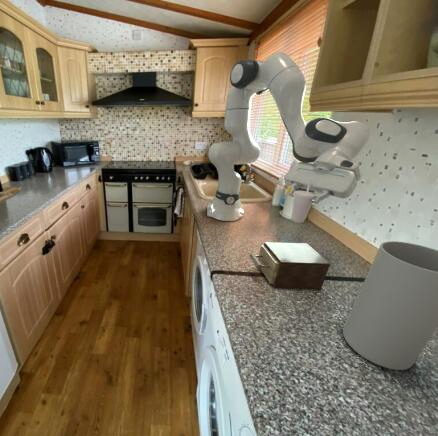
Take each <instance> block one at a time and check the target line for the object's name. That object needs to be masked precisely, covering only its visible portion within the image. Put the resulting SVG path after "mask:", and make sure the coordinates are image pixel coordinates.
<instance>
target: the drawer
mask: <svg viewBox="0 0 438 436" xmlns="http://www.w3.org/2000/svg"><path fill="white" fill-rule="evenodd" d="M248 256H249V258H250V260H251V261H252V262H253V264H254V266H255V267H256V269H258V270H260V271H261V272H262V273H263V275H264V276H265V278H266V279H267V281H268V283H269V284H270V285H272V284H274V283H275V279H276V275H277V272H278V268H279V264H280V263H279V261H278V260H277V259H276V258H275V257H274V255H273V254H272V253H271V252H270V251H269V250H268V249H267V248H266V246H265V245H264V244H261V245H260V249H259V253H258V254H254V253H250V254H249V255H248Z"/></svg>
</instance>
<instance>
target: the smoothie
mask: <svg viewBox="0 0 438 436" xmlns="http://www.w3.org/2000/svg"><path fill="white" fill-rule="evenodd" d="M311 181H312V180H309V184H308V187H307V189H306V190H295V191H294V194H293V195H294V197H293V202H292V210H291V211H292V212H291V219H290V220H291V221H292V222H293V223H300V224H302V223H305V220H306V218H307V216H308V214H309V211H310V210H311V207H312V205H313V203H312V199H313V198H314V196H317V194H316V192H315V193H314V192H313V191H310V190H309V188H310V184H311Z"/></svg>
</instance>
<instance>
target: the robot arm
mask: <svg viewBox="0 0 438 436" xmlns="http://www.w3.org/2000/svg"><path fill="white" fill-rule="evenodd" d="M229 83H230V84H231V87H230V88H229V90H228V94H227V98H226V103H225V114H224V123H223V124H224V125H223V126H224V130H225V131H226V132H228V133H229V134H230V135H231V137H232V141H219V142H215V143H212V144H211V145H210V147H209V148H208V152H207V157H208V159H209V161H210V163H211V164H212V165H213V166H214V167H215V168H216V171H217V174H218V177H217V178H218V181H217V189H216V190H215V195H214V197H213V198H212V199H211V200H210V201H208V205H207V207H206V216H207V217H209V218H214V220H215V219H216V220H219V221H223V222H234V221H238V220H239V219H241V218H243V214H242V213H244V210H243V209H242V208H241V207H242V201H240V197H241V185H242V175H240V174H239V173H238V172H236V171H235V165H247V164H251V163H255V162H256V161H257V160H258V159H259V157H260V156H261V155H260V154H261V149H260V146H259V144H258V143H257V142H256V141H255V140H254V138H253V136H252V134H251V129H250V122H251V121H250V118H251V109H252V99H253V97H254V96H255V95H258V96H259V95H262V94H263V93H265V92H267V91H269V93H270V95H271V97H272V98H273V100H274V103H275V104H276V107H277V110H278V112H279V115H280V118H281V119H282V122H283V125H284V127H285V129H286V132H287V134H288V136H289V138H290V141H291V144H292V156H293V157H294V158H295V159H296V160H297V161H299V162H298V163H295V164H294V165H293V166H292V167H291V168H290V169H289V170H288V171H287V172H286V173H285V174H284V175H283V180H284V183H285V184H286V185H288V186H291V190H290V191H289V192H288V196H289V197H292V198H294V195H293V194H294V191H297V190H299V188H300V189H304V190H307V187H308V184H309V180H312V181H311V184H310V188H309V191H311V192H315V193H320V194H318V195H316V196H314V198H313V199H312V204H315V205H319V203H320V202H321V201H323V200H325V199H328V198H329V197H330V196H332V197H336V198H340V199H343V200H344V199H347V198H349V197H350V196H352V194H353V193H354V191H355V189H356V188H357V186H358V181H360V179H361V169H360V168H359V164H358V163H357V162H354V161H353V160H354V159H355V158H356V157H357V156H359V154H360V153H361V151H363V149H364V147H365V146H366V144H367V142H368V141H369V138H370V130H369V127H368V126H367V125H366V124H364V123H363V122H360V121H357V120H354V121H353V120H352V121H348V122H342V121H336V120H334V119H332V118H329V117H325V116H324V117H323V116H322V117H321V116H320V117H317V118H313V119H311V120H310V121H309V122H307V123H306V121H305V119H304V117H303V113H302V111H303V110H302V108H303V107H302V106H303V101H304V97H305V92H306V87H307V83H306V78H305V75H304V73H303V72H302V70H301V69H300V67H299V66H298V64H297V63H296V62H295V61H294V59H292V57H291V56H290V55H288V54H287V53H285V52H283V51H277V52H274V53H272V54H271V55H270V56H268V57H267V58H266V60H260V59H258V60H257V59H255V60H254V59H250V58H246V59H240V60H238V61H237V62H235V64H234V65H233V66H232V68H231V71H230V75H229Z"/></svg>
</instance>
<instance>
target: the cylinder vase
mask: <svg viewBox="0 0 438 436" xmlns="http://www.w3.org/2000/svg"><path fill="white" fill-rule="evenodd" d="M437 328H438V249H435V248H431V247H427V246H425V245H421V244H416V243H412V242H405V241H394V240H390V241H383V242H382V243H380V245H379V247H378V249H377V252H376V254H375V256H374V259H373V261H372V263H371V265H370V267H369V270H368V271H367V274H366V277H365V278H364V280H363V283H362V285H361V288H360V290H359V292H358V294H357V296H356V299H355V301H354V303H353V305H352V307H351V310H350V312H349V314H348V316H347V319H346V321H345V323H344V326H343V328H342V336H343V338H344V339H345V341H346V343H347V344H348V345H349V346H350V348H352V349H353V350H354V351H355V352H356V353H357V354H358V355H359V356H361V357H363V358H364V359H366V360H367V361H369V362H371V363H373V364H374V365H377V366H379V367H383V368H386V369H390V370H393V371H405V370H408V369H410V368H411V367H412V366H413V365H414V363H415V362H416V360H417V359H418V358H419V356H420V355H421V353H422V351H423V350H424V348H425V347H426V345H427V343H428V342H429V340H430V338H431V337H432V336H433V335H434V333H435V331H436V329H437Z"/></svg>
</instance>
